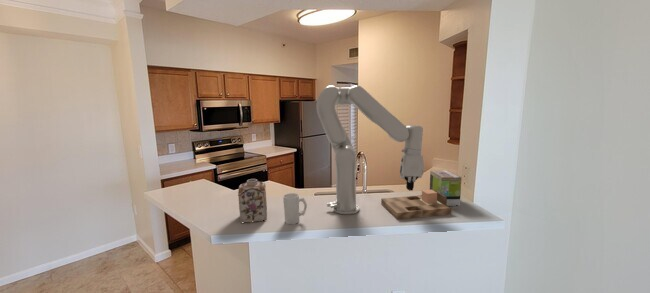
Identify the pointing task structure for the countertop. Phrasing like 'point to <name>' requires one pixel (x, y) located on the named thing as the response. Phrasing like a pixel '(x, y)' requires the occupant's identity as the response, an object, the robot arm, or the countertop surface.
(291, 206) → the mug
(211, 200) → the countertop surface
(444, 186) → the tea box
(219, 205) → the countertop surface
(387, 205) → the board
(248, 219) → the decorative jar
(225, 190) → the countertop surface
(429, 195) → the block
